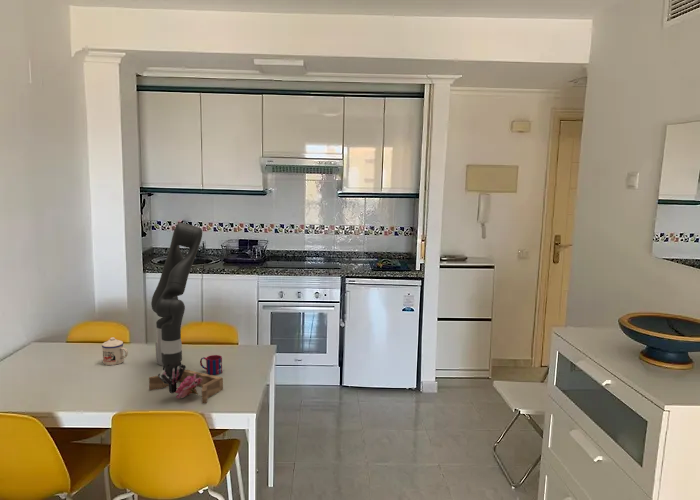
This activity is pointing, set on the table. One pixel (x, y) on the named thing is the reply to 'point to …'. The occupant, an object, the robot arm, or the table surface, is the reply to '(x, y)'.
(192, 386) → the flower
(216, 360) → the cup
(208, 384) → the wooden slat frame
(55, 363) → the table surface
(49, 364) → the table surface
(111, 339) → the teacup with lid
